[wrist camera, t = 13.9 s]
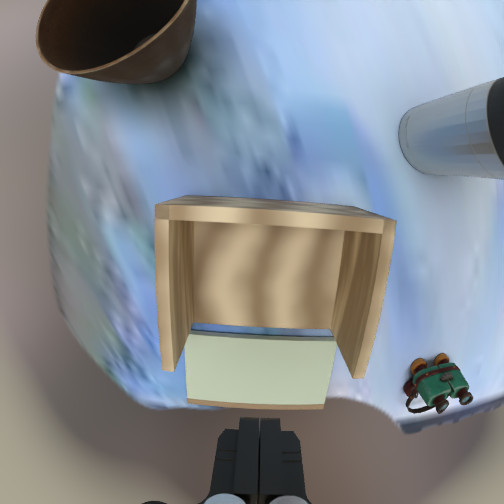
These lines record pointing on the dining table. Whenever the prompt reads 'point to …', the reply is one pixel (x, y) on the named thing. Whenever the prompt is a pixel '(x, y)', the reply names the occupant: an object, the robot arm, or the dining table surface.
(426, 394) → the binoculars
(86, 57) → the plant pot
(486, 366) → the dining table surface
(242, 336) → the panel
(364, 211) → the crate
